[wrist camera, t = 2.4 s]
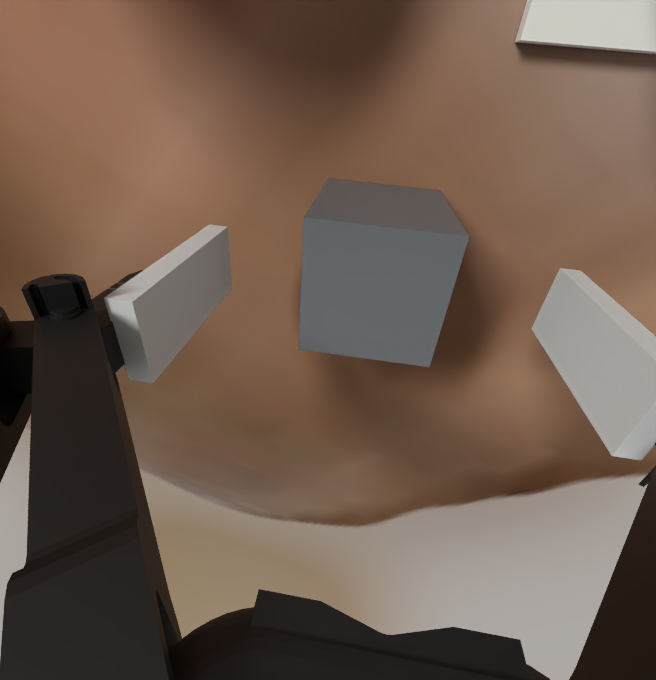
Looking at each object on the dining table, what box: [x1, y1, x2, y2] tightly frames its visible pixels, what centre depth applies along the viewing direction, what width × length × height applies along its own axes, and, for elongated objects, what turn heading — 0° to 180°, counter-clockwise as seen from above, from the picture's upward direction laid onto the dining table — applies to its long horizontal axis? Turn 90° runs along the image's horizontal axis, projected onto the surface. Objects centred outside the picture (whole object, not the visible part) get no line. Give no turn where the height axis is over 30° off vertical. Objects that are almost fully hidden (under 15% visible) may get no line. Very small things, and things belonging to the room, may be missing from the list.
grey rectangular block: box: [299, 179, 469, 367], centre depth 15 cm, size 5×5×7 cm
